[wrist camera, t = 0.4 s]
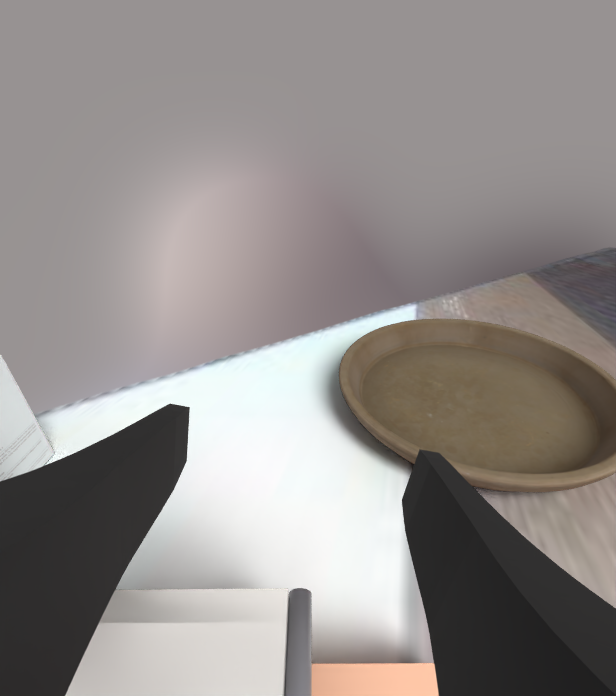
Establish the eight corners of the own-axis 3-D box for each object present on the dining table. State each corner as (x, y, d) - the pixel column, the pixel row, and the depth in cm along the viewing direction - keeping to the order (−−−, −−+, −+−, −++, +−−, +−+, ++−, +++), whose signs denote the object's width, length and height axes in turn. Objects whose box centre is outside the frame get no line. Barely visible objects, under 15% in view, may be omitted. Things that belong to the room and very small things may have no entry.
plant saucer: (288, 394, 46) (286, 365, 44) (430, 323, 63) (434, 299, 61) (549, 599, 25) (572, 563, 23) (659, 411, 42) (679, 379, 39)
